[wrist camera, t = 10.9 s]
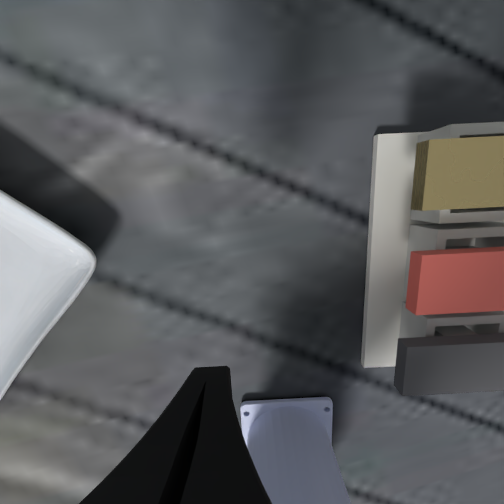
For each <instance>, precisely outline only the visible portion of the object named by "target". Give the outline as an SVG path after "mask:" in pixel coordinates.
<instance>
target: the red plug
mask: <svg viewBox="0 0 504 504" xmlns="http://www.w3.org/2000/svg"><path fill="white" fill-rule="evenodd" d="M405 308H406V309H408V310H409V311H411V312H412V313H413V314H415V315H432V314H451V313H470V312H489V311H504V247H484V248H479V247H474V246H452V247H445V250H426V251H411V255H410V265H409V275H408V285H407V296H406V306H405Z"/></svg>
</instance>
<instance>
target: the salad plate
mask: <svg viewBox="0 0 504 504" xmlns="http://www.w3.org/2000/svg"><path fill="white" fill-rule="evenodd" d="M96 265H97V259H96V256H95V254H94V252H93V251H92V249H91V248H90V247H88V246H87V245H86V244H85V243H83V242H82V241H80V240H79V239H77V238H76V237H74V236H73V235H72V234H70V233H69V232H67V231H66V230H64V229H63V228H61V227H60V226H58V225H56V224H55V223H53V222H52V221H50V220H49V219H47V218H45V217H44V216H42V215H41V214H39V213H37V212H36V211H34V210H32V209H31V208H29V207H28V206H26V205H24V204H23V203H21V202H19V201H18V200H16V199H15V198H13V197H11V196H10V195H8V194H6V193H5V192H3V191H2V190H0V400H1V399H2V397H3V396H4V394H5V393H6V391H7V390H8V388H9V387H10V385H11V383H12V382H13V380H14V379H15V378H16V376H17V375H18V373H19V372H20V370H21V369H22V368H23V366H24V365H25V363H26V362H27V360H28V359H29V358H30V356H31V355H32V354H33V352H34V351H35V349H36V348H37V347H38V345H39V344H40V343H41V341H42V340H43V339H44V337H45V336H46V335H47V334H48V332H49V331H50V330H51V329H52V327H53V326H54V325H55V324H56V322H57V321H58V320H59V319H60V318H61V316H62V315H63V314H64V313H65V311H66V310H67V309H68V308H69V306H70V305H71V304H72V303H73V301H74V300H75V299H76V297H77V296H78V295H79V293H80V292H81V291H82V289H83V288H84V286H85V285H86V284H87V282H88V281H89V279H90V277H91V275H92V274H93V272H94V270H95V268H96Z"/></svg>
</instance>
